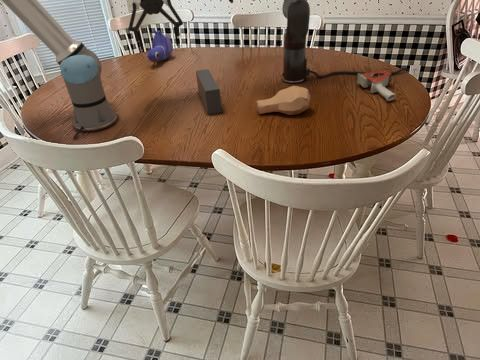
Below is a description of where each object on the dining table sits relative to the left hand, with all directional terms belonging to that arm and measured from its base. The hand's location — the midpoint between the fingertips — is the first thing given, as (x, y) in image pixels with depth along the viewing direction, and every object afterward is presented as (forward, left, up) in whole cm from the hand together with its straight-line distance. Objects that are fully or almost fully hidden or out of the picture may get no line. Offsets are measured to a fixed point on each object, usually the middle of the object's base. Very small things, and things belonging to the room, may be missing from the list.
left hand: (160, 47), depth 138 cm
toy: (+47, +13, -20) cm, 53 cm away
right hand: (+6, -33, +13) cm, 36 cm away
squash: (-20, -47, -20) cm, 54 cm away
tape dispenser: (-4, -85, -20) cm, 88 cm away
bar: (-8, -18, -20) cm, 28 cm away
